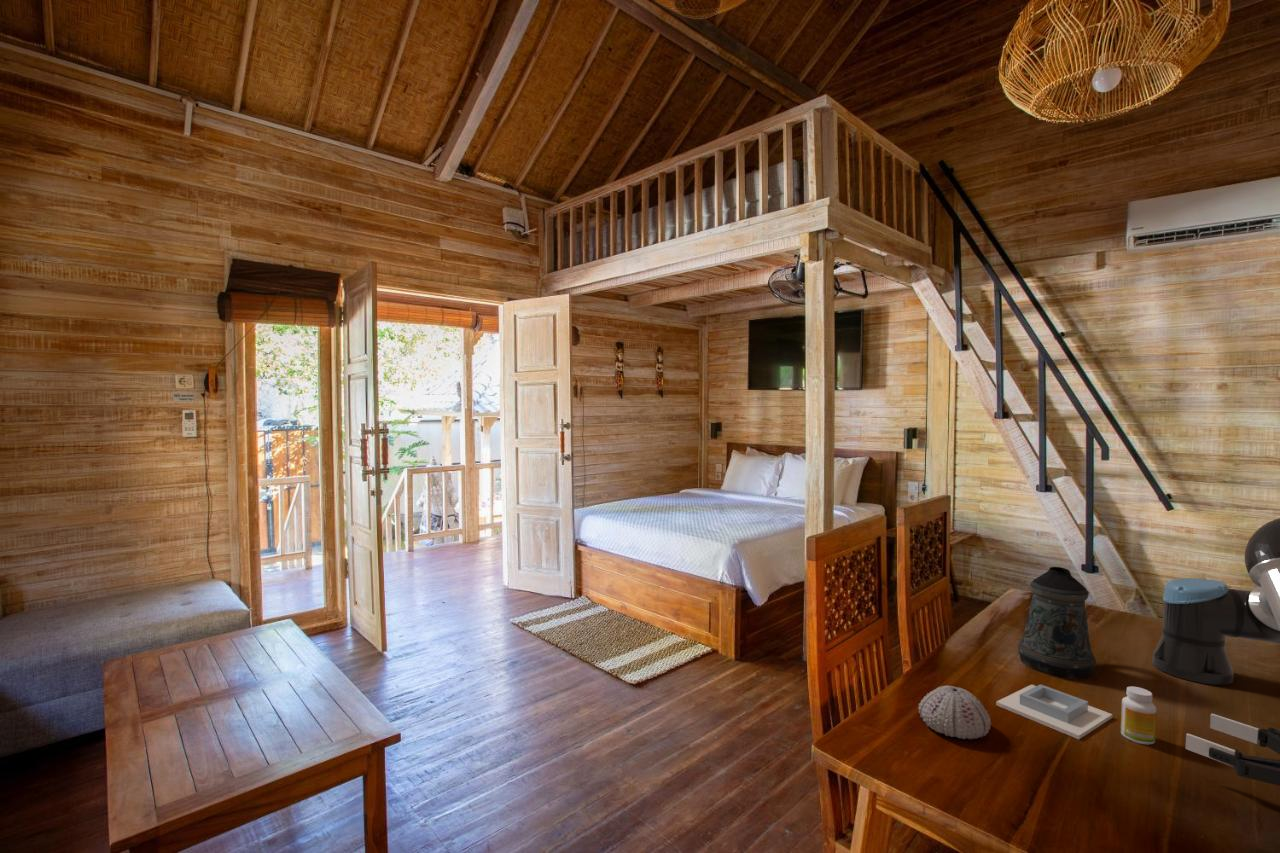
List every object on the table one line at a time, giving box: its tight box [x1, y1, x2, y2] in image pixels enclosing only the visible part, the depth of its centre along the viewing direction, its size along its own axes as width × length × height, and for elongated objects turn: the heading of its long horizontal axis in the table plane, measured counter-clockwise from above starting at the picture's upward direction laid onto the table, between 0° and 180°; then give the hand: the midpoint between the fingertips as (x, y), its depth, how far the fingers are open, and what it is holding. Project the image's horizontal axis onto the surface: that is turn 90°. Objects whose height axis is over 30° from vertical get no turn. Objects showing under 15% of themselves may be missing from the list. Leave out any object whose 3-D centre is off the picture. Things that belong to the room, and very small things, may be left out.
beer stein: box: [1017, 566, 1097, 680], centre depth 155 cm, size 16×19×25 cm
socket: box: [995, 684, 1113, 740], centre depth 131 cm, size 16×16×3 cm
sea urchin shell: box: [917, 685, 992, 740], centre depth 124 cm, size 13×14×8 cm
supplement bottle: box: [1120, 686, 1157, 746], centre depth 120 cm, size 5×5×10 cm
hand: (1198, 730), depth 112 cm, fingers open, 13 cm apart
